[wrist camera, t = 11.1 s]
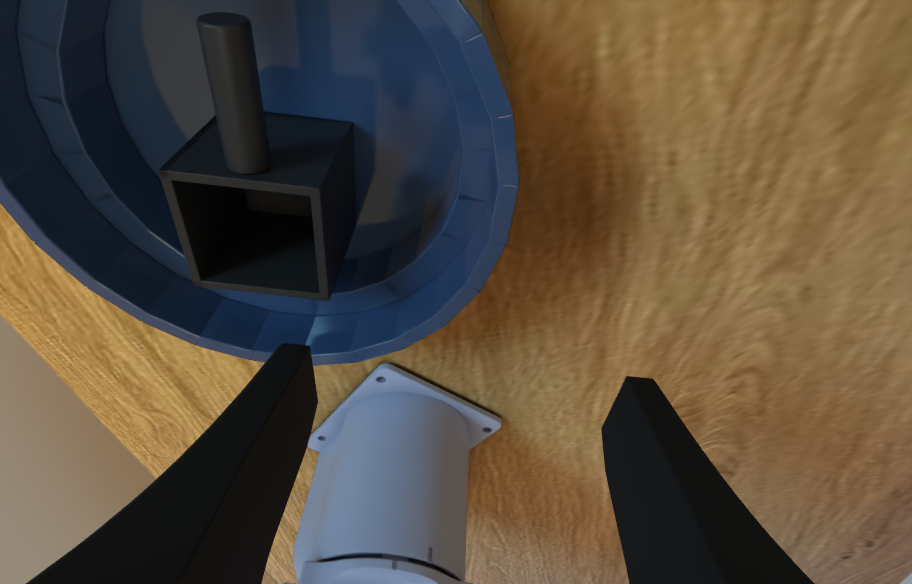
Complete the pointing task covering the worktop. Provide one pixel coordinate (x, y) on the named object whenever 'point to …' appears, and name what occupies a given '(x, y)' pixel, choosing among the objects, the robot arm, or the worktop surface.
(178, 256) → the bowl
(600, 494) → the worktop surface
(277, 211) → the scoop
